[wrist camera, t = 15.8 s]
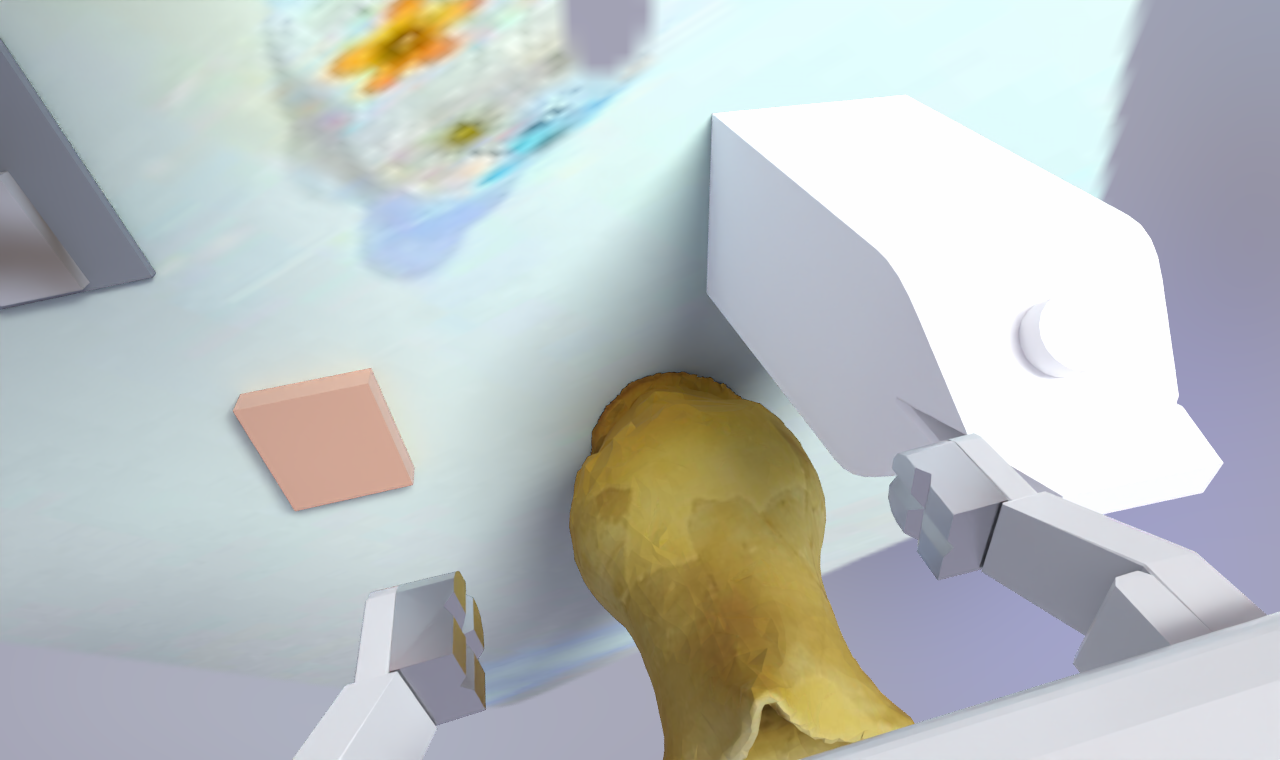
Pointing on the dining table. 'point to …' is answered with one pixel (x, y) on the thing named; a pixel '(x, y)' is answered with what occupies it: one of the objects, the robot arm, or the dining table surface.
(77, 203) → the pad
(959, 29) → the dining table surface
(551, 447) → the dining table surface
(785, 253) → the milk
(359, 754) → the robot arm
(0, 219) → the brown block
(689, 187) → the dining table surface
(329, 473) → the tile
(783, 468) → the pitcher
